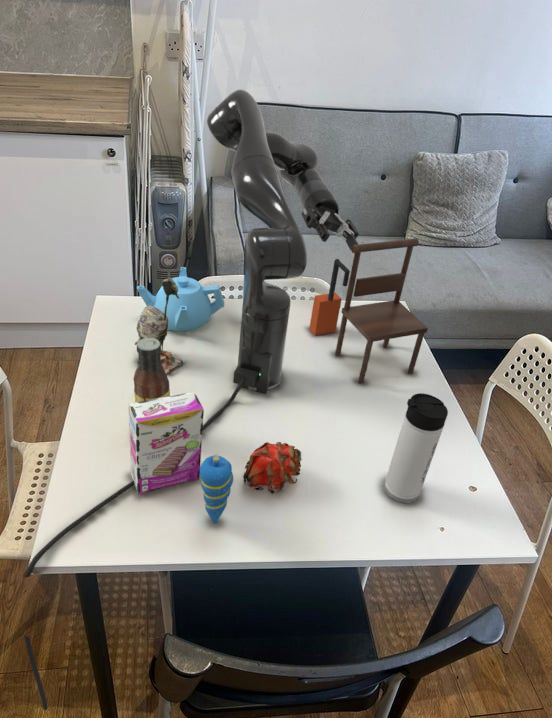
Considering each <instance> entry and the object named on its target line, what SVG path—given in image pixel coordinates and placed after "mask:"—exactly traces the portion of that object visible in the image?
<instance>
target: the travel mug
mask: <svg viewBox="0 0 552 718" xmlns="http://www.w3.org/2000/svg"><path fill="white" fill-rule="evenodd" d="M406 404H407V409H406V412H405V413H404V417H403V421H402V424H401V428H400V431H399V434H398V437H397V440H396V444H395V446H394V450H393V454H392V457H391V460H390V464H389V467H388V471H387V474H386V477H385V479H384V484H383V489H384V492H385V494H386V495H387V496H388V497H389V498H390V499H392V500H393V501H396V502H398V503H402V504H411V503H414V502H415V501H417V500H418V499H419V497H420V496H421V495H420V494H421V492H422V489H423V486H424V483H425V480H426V477H427V475H428V472H429V470H430V467H431V464H432V460H433V459H434V456H435V453H436V450H437V447H438V444H439V442H440V439H441V436H442V432H443V430H444V427H445V424H446V421H447V419H448V415H449V410H448V407H447V406H446V405H445V403H444V402H443V400H441V399H439V398H438V397H436V396H434V395H431V394H428V393H424V392H423V393H421V392H419V393H415V394H413V395H412V396H411V397H410V398H408V399H407V402H406Z"/></svg>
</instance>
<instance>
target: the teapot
mask: <svg viewBox="0 0 552 718" xmlns="http://www.w3.org/2000/svg"><path fill="white" fill-rule="evenodd" d="M187 272H188V271H187V267H184V266H180V269H179V275H178V276H175V277H172V278H171V279H173V281H174V282H175V284H176V286H177V287H178V292H177V294H178V297H179V299H178V298H177V297H176V296H175V295H172V294H171V295H169V299H168V304H167V311H166V316H167V317H168V329H167V331H172V332H176V333H191V332H195V331H198V330H200V329H201V328H203V327H204V326H206V325H207V324H208V323H209V322H210V320H211V319H212V316H213V315H214V314H215V313H217V312H219V310H221V309H223V308H224V307H225V300H224V296H223V294H222V290H221V288H220V287H221V286H220V284H218V285H216V284H215V285H208V286H207V285H205V286H202V284H201V283H200V281H198V280H196V279H194V278H192V277H188V274H187ZM136 290H137V292H138V294H139V295H140V297H141V299H142V300H143V302H144V304H145V306H147V305H151V306H153V307H155V308H157V309H159V310H161V311H162V312H163V313H165V306H166V294H165V292H164V289H163V286H162V285H161V287H160V289H159V290H158V292H157V293H156V295H153V294H152V293H151V292H150V291H149V290H148V289H147V288H146V287H145V285H138V286H136ZM209 295H213V296H214V300H213V301H212V302H211V299H210V298H209ZM150 302H151V303H150Z"/></svg>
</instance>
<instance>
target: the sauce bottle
mask: <svg viewBox="0 0 552 718" xmlns="http://www.w3.org/2000/svg"><path fill="white" fill-rule="evenodd" d="M138 340H139V339H138ZM138 340H137V341H138ZM161 350H162V346H161V343H160V342H159V341H158V340H157V339H155V338H144V339H141V340H139V341H138V342H137V345H136V352H137V354H138V355H137V356H138V361H139V364H138V366H137V367H136V369H135V371H134V375H133V386H134V388H133V393H134V403H136V402H141V401H147V400H152V399H158V398H163V397H169V396H171V389H170V381H169V378H168V375H167V373H165V371H164V368H163V366H162V363H161V356H160V352H161Z"/></svg>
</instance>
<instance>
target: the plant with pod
mask: <svg viewBox="0 0 552 718" xmlns="http://www.w3.org/2000/svg"><path fill="white" fill-rule="evenodd" d="M160 284H161V287H162V286H163V289H164V292H165V294H166V306H165V313H163V312H162V311H161V310H159V309H157V308H155V307H153V306H151V305H145V306H144V307H143V310H142V312H141V314H140V316H139V319H138V321H137V323H136V327H135V328H136V332H137V334H138V337H139V338H138V339H137V340H136V341H135V342H134V344H133V345H134V346H137V342H138V341H139V340H141V339H144V338H155V339H157V340H158V341H159V342H160V343H161V352H160V356H161V363H162V366H163V368H164V371H165V373H166V374H169V373H170V372H172V370H173V369H175V368H176V367H179V366H180V365H183V364H184V362H185V361H184V360H182V359H179V358H178V357H177V356H176V355H175V354H174V353H172V352H171V351H168V350H164V349H163V348H164V341H165V339H166V337H167V336H168V317H167V316H166V311H167V304H168V299H169V295H171V294H172V295H175V296H176V297H177V298H178V299H179V297H178V294H177V292H178V287H177V286H176V284H175V282H174V281H173V279H172V278H171V277H169V278H165V279H162V280H161V281H160ZM150 303H151V302H150ZM137 364H138V365H139V360H138V361H137Z"/></svg>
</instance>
